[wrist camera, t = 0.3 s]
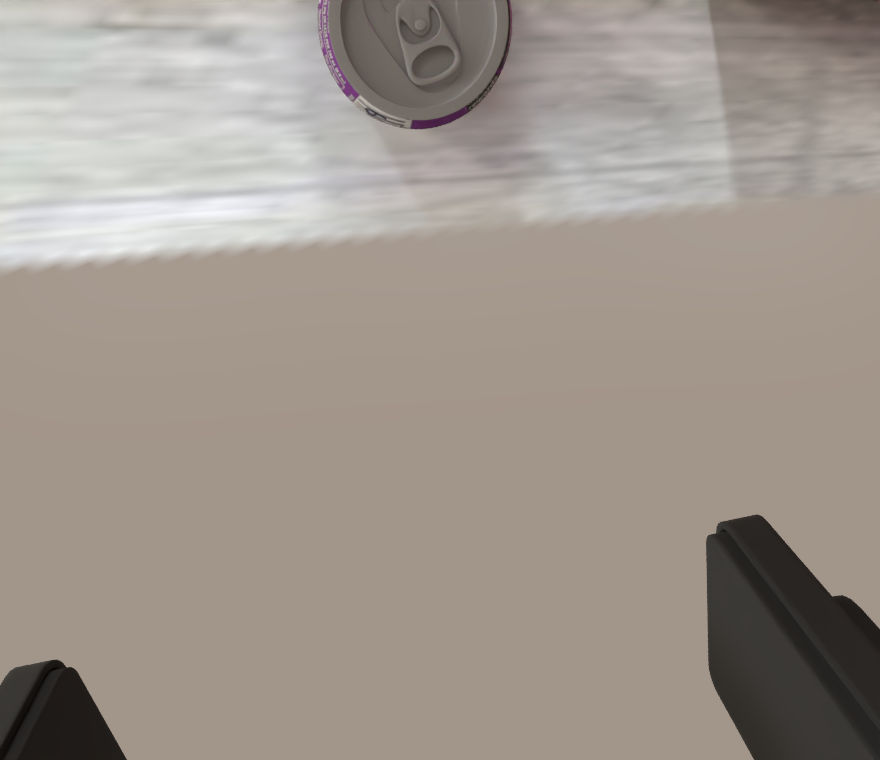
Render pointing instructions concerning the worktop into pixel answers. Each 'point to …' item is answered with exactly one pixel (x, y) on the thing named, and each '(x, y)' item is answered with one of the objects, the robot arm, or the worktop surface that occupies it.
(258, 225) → the worktop surface
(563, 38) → the worktop surface
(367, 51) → the beverage can
